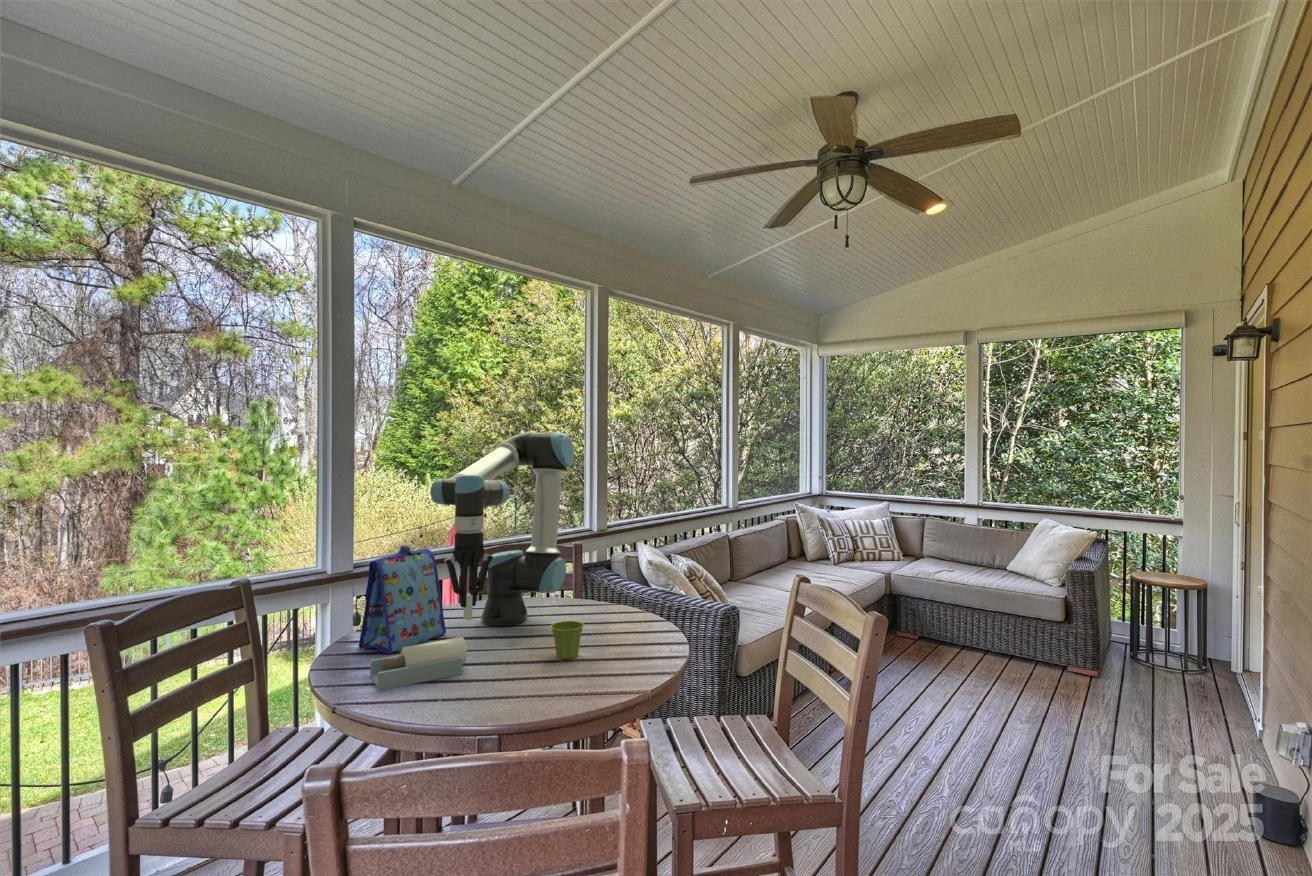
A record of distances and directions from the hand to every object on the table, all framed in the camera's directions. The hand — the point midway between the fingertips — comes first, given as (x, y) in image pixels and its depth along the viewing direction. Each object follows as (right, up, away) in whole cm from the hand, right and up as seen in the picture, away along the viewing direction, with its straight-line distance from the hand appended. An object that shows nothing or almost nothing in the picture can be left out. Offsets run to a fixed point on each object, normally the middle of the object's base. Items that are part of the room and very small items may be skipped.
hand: (467, 618), depth 165 cm
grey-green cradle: (-11, -12, -7) cm, 18 cm away
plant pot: (+26, -13, +8) cm, 30 cm away
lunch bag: (-25, -13, +20) cm, 35 cm away
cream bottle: (-1, -8, -1) cm, 8 cm away
